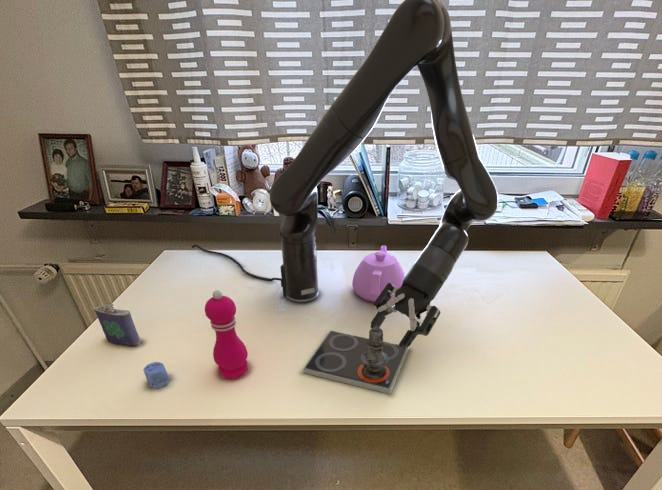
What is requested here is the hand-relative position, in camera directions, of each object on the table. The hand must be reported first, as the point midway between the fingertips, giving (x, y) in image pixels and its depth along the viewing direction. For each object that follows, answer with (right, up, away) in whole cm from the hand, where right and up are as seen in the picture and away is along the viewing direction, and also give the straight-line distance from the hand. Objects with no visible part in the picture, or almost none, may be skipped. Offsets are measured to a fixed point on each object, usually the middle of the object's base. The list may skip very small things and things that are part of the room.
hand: (387, 338), depth 86 cm
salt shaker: (-3, -7, +3) cm, 8 cm away
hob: (-6, -5, +8) cm, 11 cm away
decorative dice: (-49, -10, +2) cm, 50 cm away
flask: (-63, 0, +13) cm, 64 cm away
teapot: (0, +15, +34) cm, 38 cm away
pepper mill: (-34, -7, +5) cm, 35 cm away
